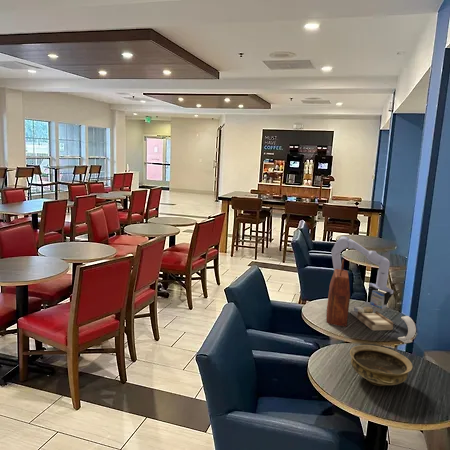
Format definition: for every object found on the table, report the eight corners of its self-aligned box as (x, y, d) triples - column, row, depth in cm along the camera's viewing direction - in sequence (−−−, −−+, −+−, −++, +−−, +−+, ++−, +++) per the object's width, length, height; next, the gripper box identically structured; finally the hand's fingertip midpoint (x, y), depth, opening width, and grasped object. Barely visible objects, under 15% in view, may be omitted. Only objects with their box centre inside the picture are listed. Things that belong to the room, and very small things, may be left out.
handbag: (326, 324, 220) (333, 262, 214) (326, 311, 239) (333, 253, 232) (346, 327, 218) (354, 265, 211) (344, 314, 237) (352, 256, 230)
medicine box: (369, 304, 236) (371, 290, 234) (374, 303, 238) (376, 289, 237) (381, 309, 229) (384, 294, 228) (386, 308, 232) (388, 293, 230)
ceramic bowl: (418, 407, 149) (422, 382, 147) (351, 396, 153) (354, 371, 151) (399, 367, 178) (402, 345, 176) (343, 358, 182) (345, 337, 180)
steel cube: (357, 316, 234) (353, 313, 237) (363, 315, 235) (359, 313, 238) (358, 309, 233) (354, 306, 237) (364, 309, 234) (360, 306, 238)
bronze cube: (365, 315, 235) (362, 312, 239) (372, 315, 236) (369, 313, 240) (366, 309, 235) (363, 306, 238) (373, 309, 235) (370, 306, 239)
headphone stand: (404, 337, 209) (407, 315, 207) (413, 343, 204) (417, 320, 202) (397, 339, 207) (401, 316, 205) (407, 344, 202) (411, 321, 200)
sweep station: (350, 312, 239) (351, 306, 238) (368, 312, 242) (369, 306, 241) (372, 330, 216) (373, 322, 215) (392, 330, 218) (393, 322, 218)
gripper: (366, 276, 234) (363, 299, 237) (389, 283, 223) (386, 307, 225) (373, 275, 239) (370, 297, 241) (396, 282, 227) (393, 305, 230)
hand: (378, 302), depth 233 cm, fingers closed on medicine box, 7 cm apart
